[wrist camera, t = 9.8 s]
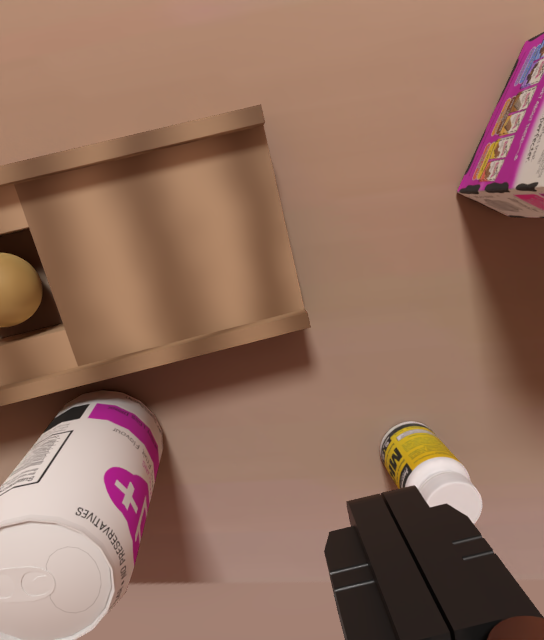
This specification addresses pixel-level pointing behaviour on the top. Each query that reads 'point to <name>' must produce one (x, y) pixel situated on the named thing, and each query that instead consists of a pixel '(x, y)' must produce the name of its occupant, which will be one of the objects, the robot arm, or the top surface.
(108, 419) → the supplement can
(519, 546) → the top surface
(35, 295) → the ball
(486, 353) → the top surface
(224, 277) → the wooden slide tray
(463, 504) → the supplement bottle
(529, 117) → the candy bar box
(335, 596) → the robot arm
